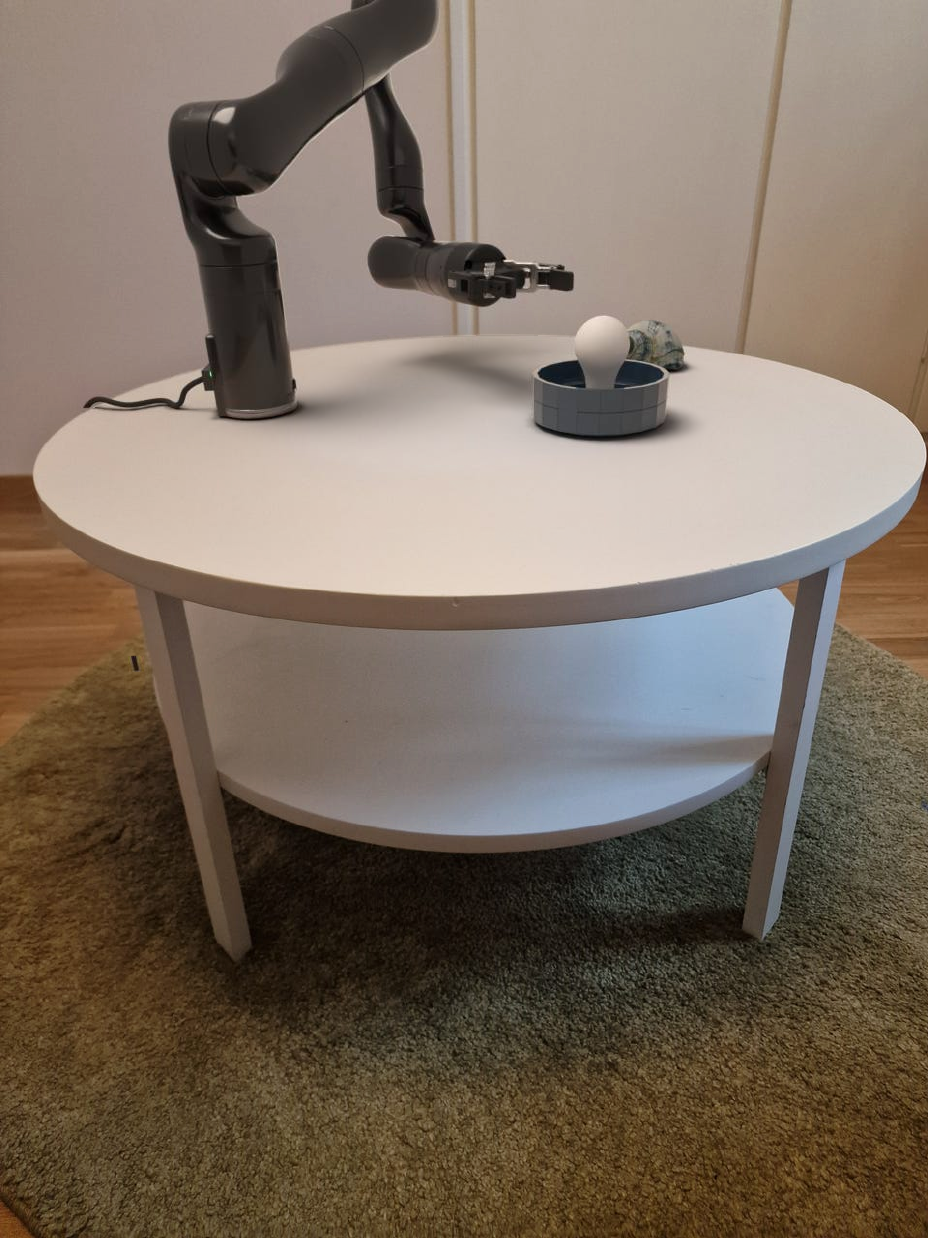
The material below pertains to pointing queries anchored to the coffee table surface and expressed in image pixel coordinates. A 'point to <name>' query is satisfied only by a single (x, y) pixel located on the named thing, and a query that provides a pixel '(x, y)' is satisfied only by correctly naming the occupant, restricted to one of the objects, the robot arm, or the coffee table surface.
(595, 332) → the lightbulb
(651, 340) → the seashell
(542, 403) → the bowl
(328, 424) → the coffee table surface
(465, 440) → the coffee table surface
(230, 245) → the robot arm
